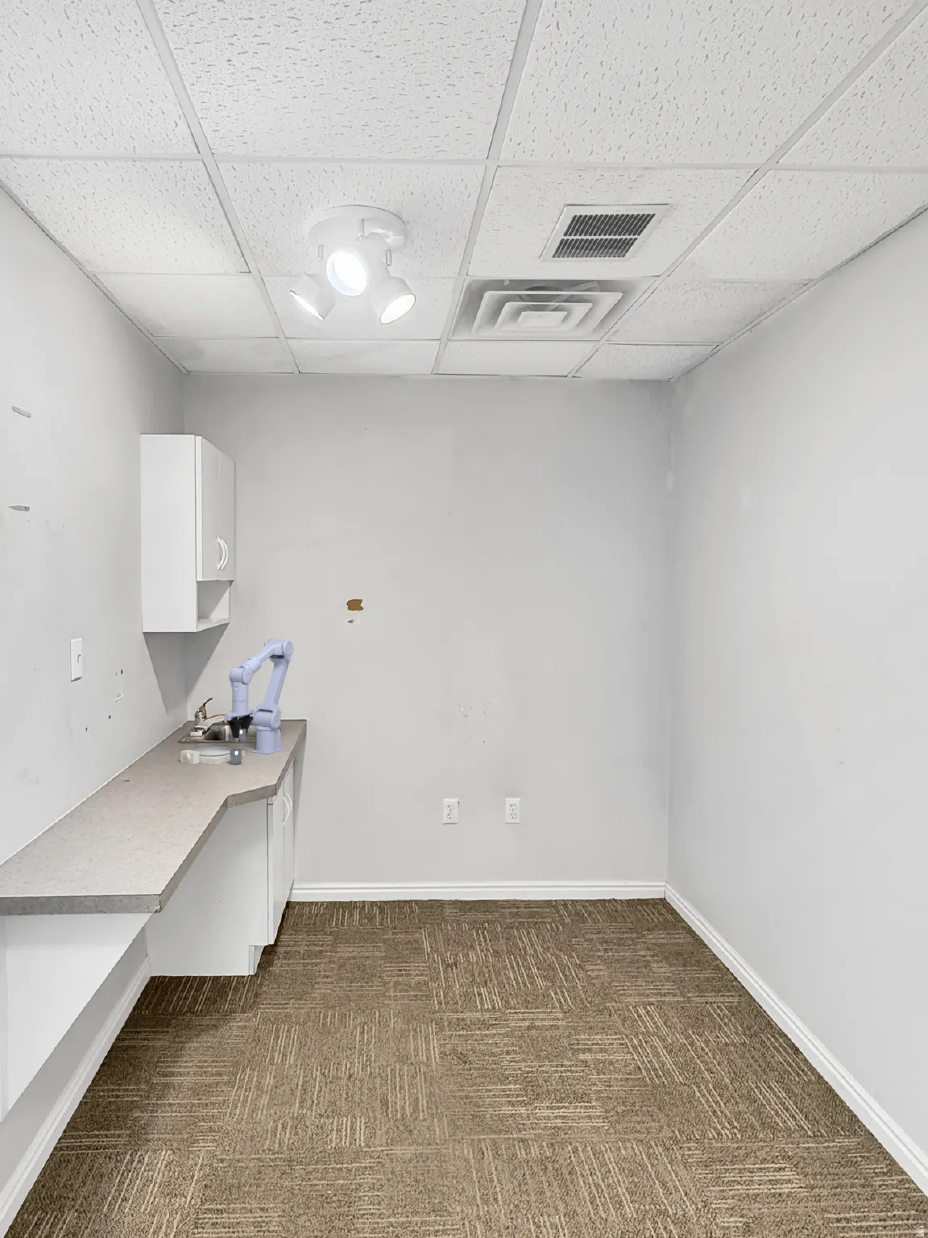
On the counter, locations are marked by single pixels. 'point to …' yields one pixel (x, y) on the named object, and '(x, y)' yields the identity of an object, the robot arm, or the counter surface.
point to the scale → (207, 755)
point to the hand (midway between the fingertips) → (239, 736)
